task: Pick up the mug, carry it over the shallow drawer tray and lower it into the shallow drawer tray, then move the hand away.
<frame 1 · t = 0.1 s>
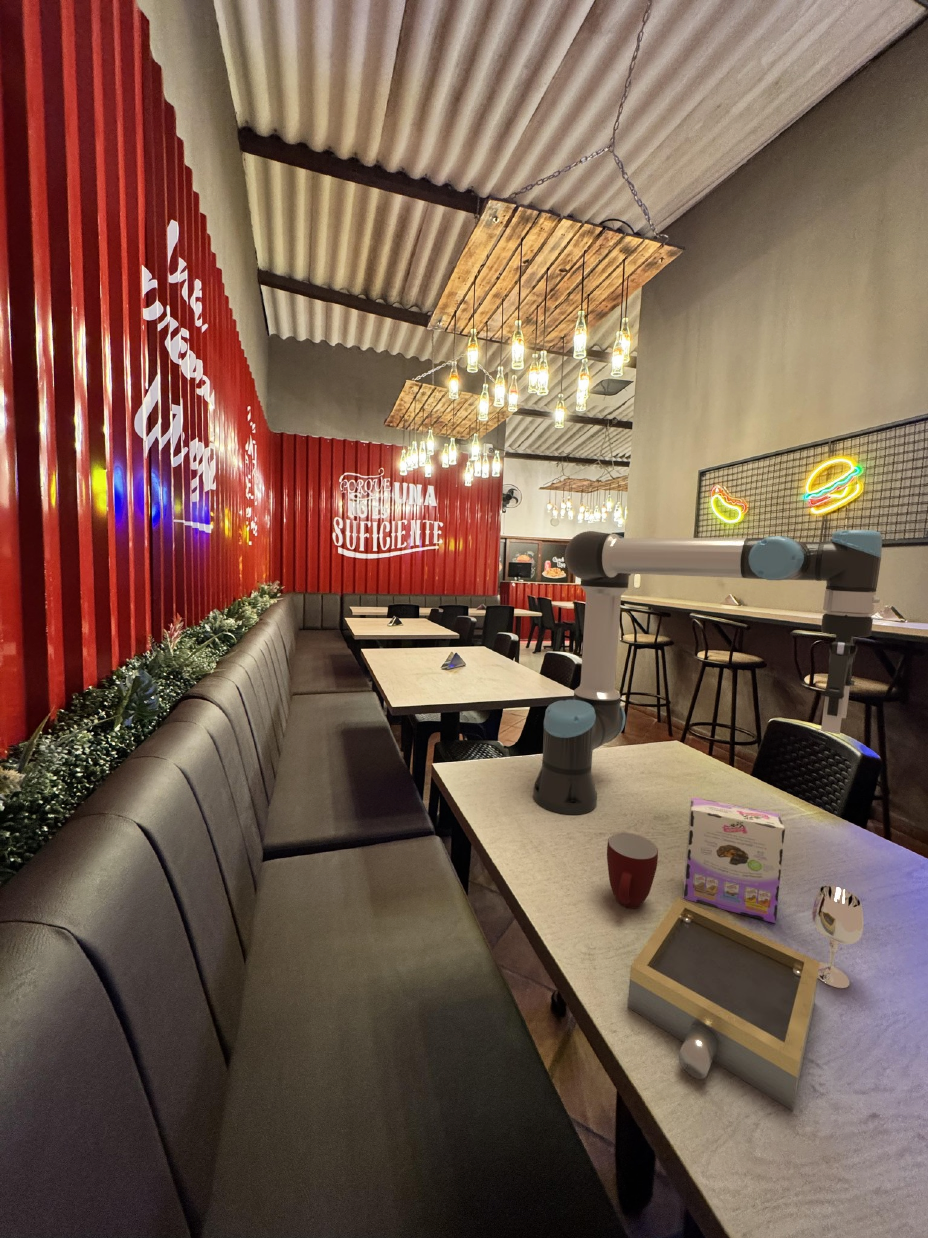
hand: (834, 724, 95), 28 cm above the table, fingers open, 13 cm apart
wineglass: (829, 976, 70), on the table
shallow drawer tray: (722, 1004, 65), on the table
mug: (627, 906, 83), on the table
candy box: (726, 902, 85), on the table
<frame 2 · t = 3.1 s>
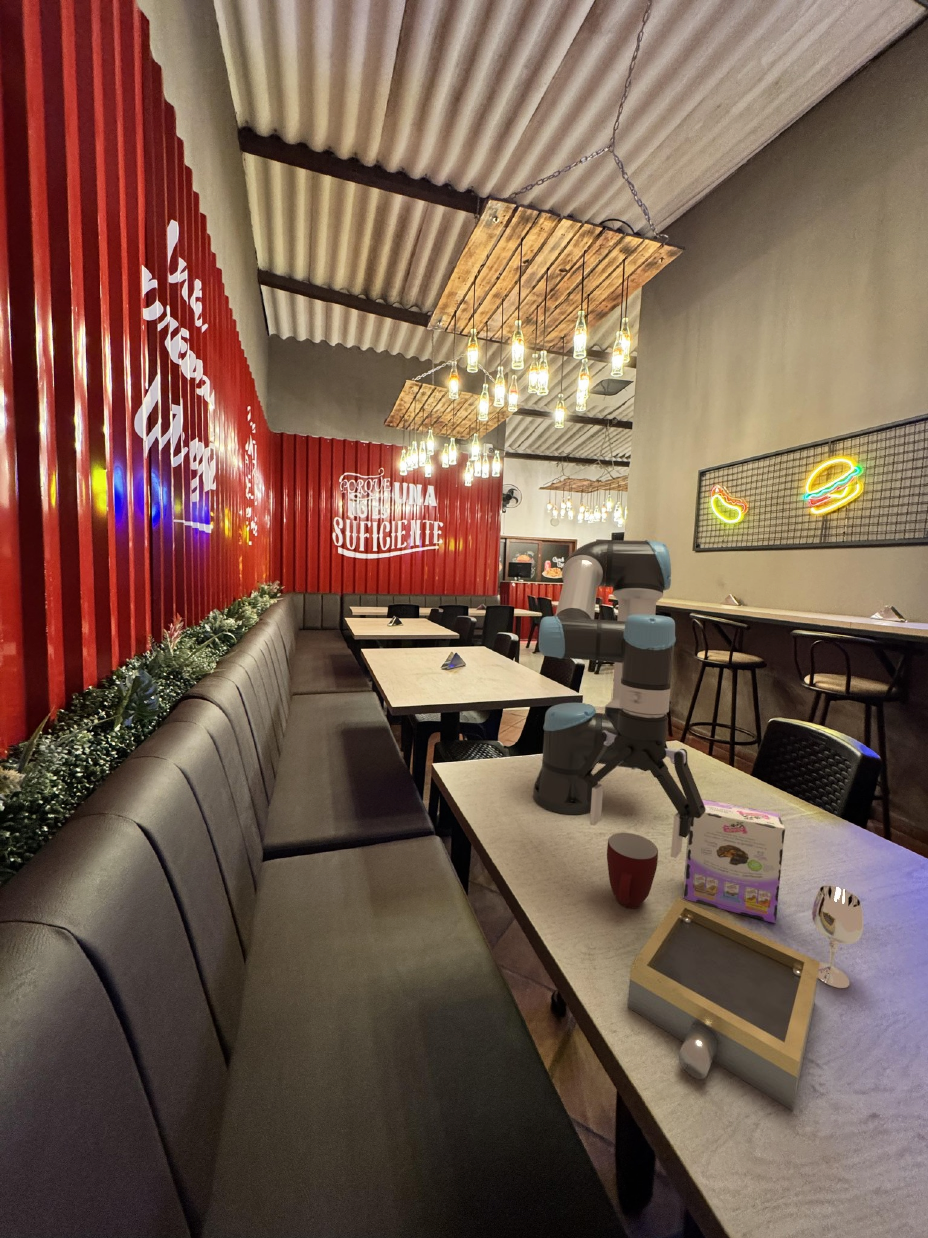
hand: (633, 837, 82), 12 cm above the table, fingers open, 13 cm apart
nothing on the table moved.
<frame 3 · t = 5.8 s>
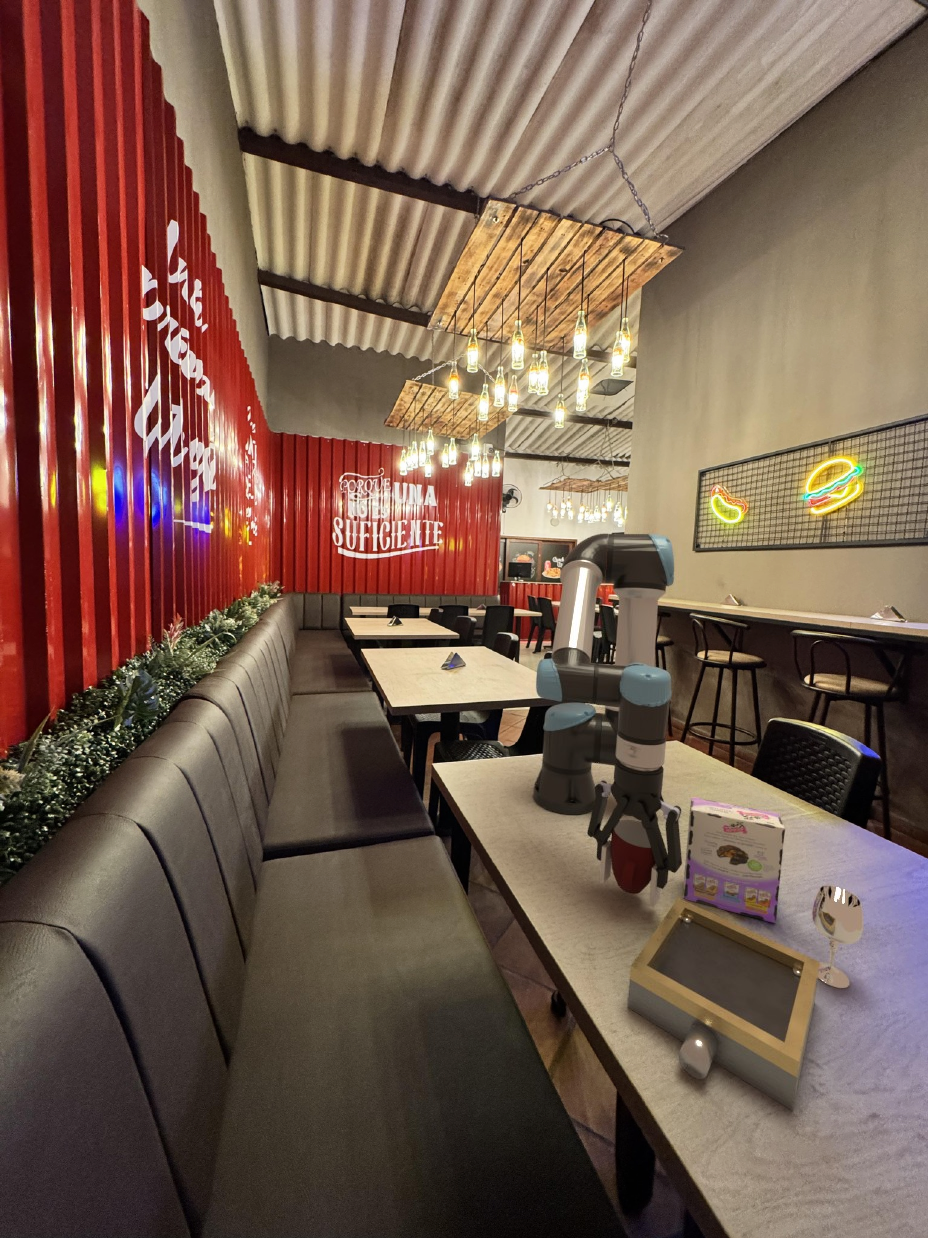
hand: (628, 890, 84), 2 cm above the table, fingers closed on mug, 8 cm apart
mug: (628, 891, 84), point 2 cm above the table, touching gripper
everything else where it was.
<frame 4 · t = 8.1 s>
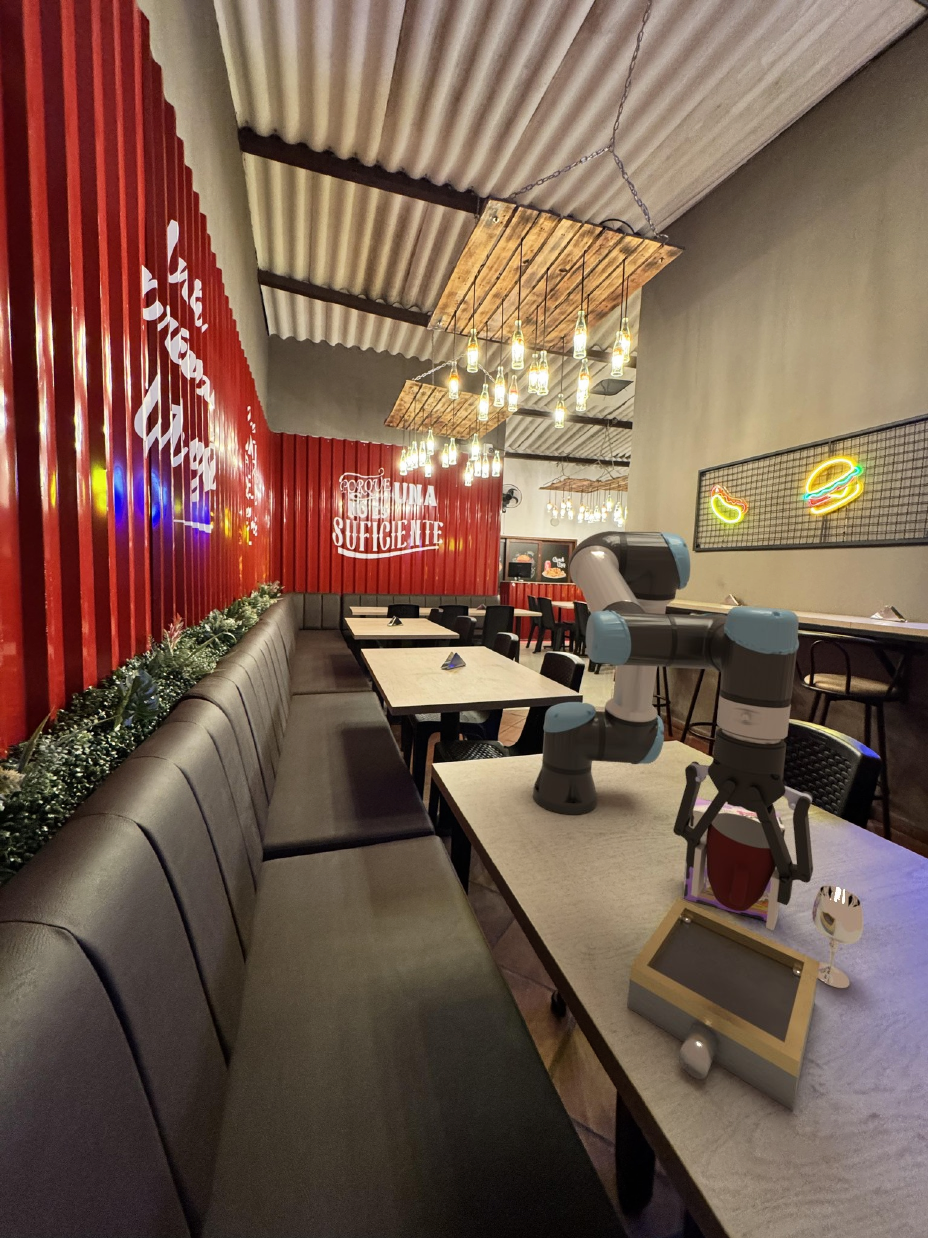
hand: (732, 906, 63), 14 cm above the table, fingers closed on mug, 8 cm apart
mug: (732, 908, 63), point 14 cm above the table, touching gripper
everything else where it was.
when the fingers open (6 cm above the table, at t = 10.3 s): mug drops 1 cm, resting on shallow drawer tray.
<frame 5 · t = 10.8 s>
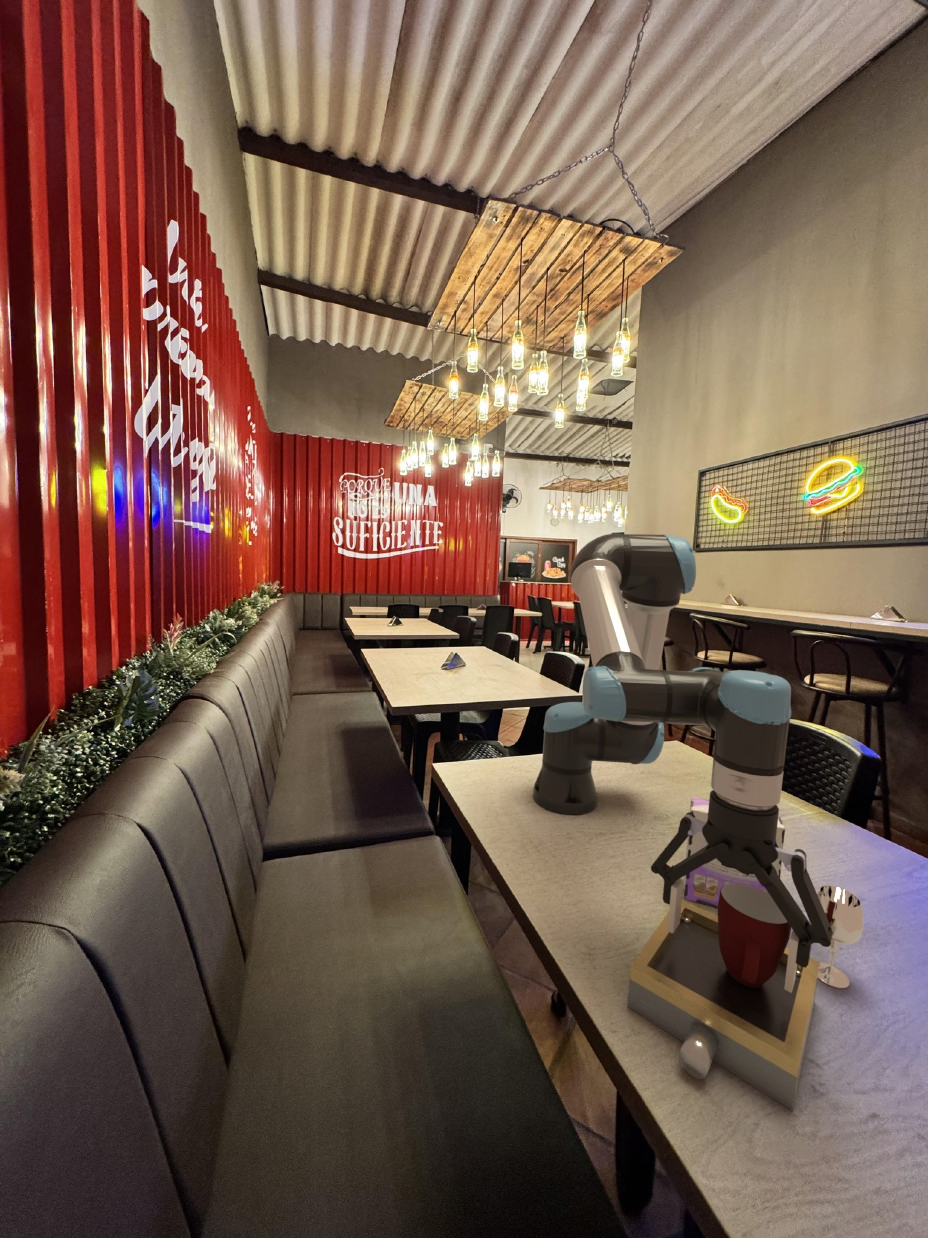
hand: (727, 954, 64), 7 cm above the table, fingers open, 13 cm apart
mug: (745, 984, 63), point 4 cm above the table, touching shallow drawer tray
everything else where it was.
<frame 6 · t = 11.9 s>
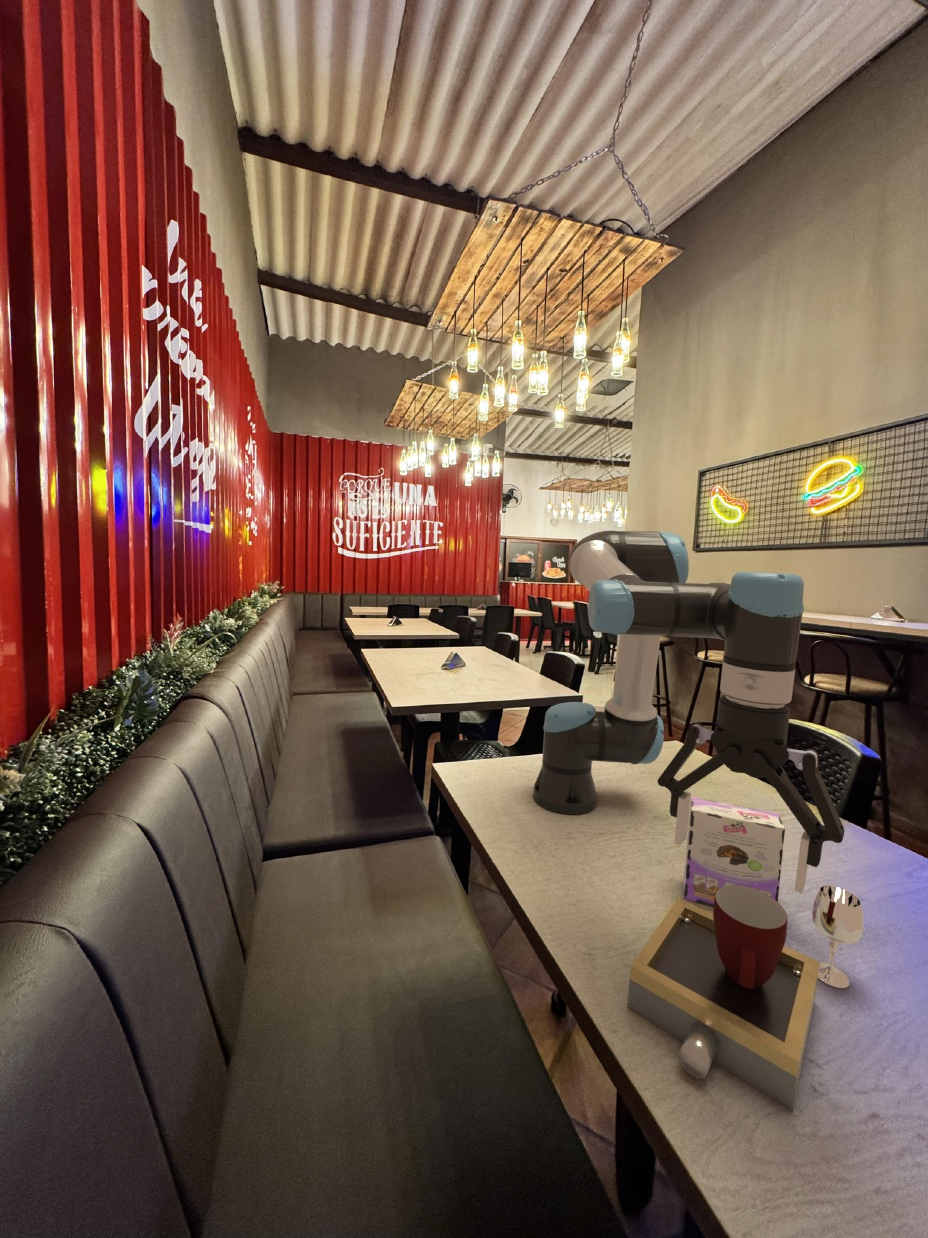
hand: (736, 862, 63), 20 cm above the table, fingers open, 13 cm apart
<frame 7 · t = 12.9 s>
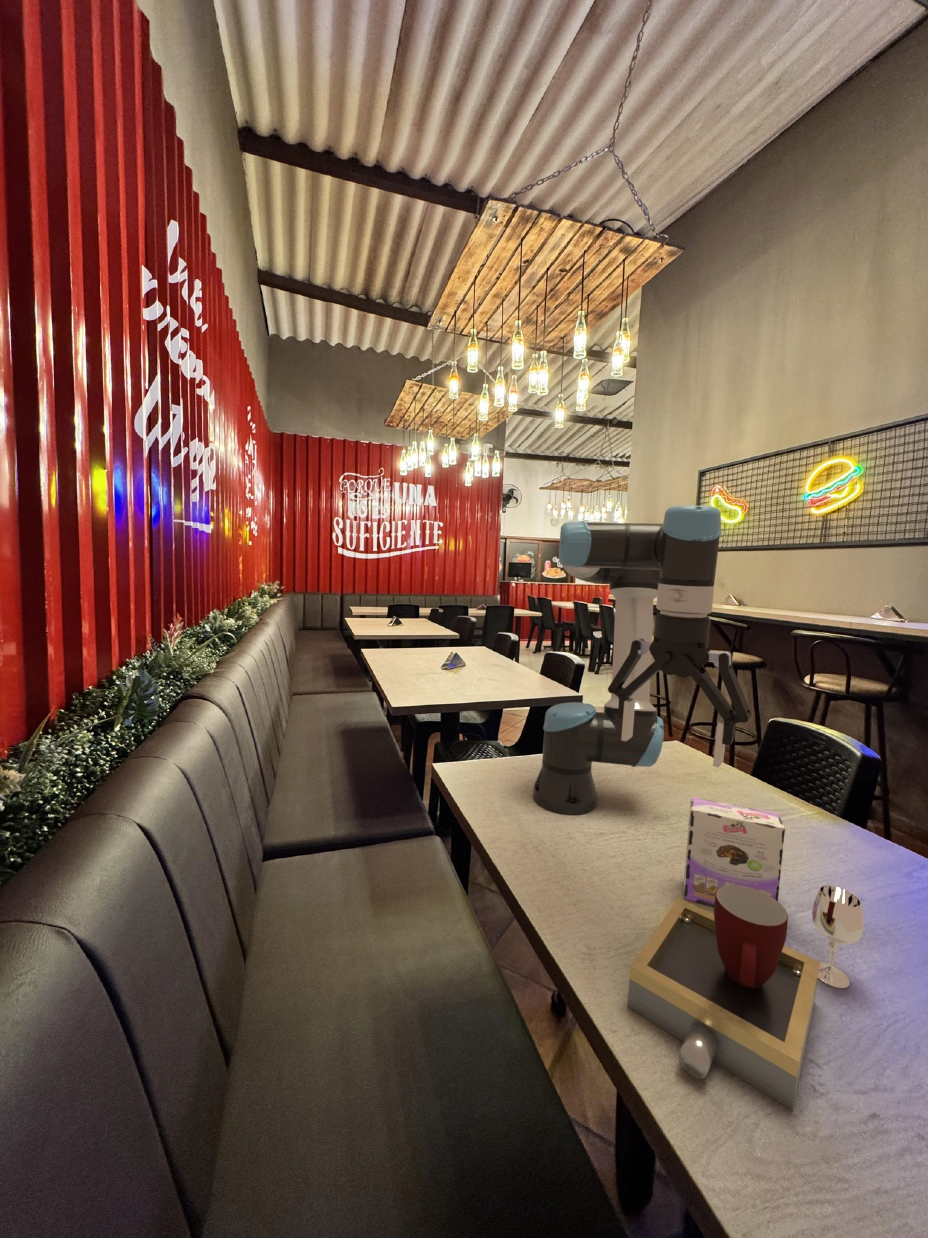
hand: (669, 750, 76), 29 cm above the table, fingers open, 13 cm apart
nothing on the table moved.
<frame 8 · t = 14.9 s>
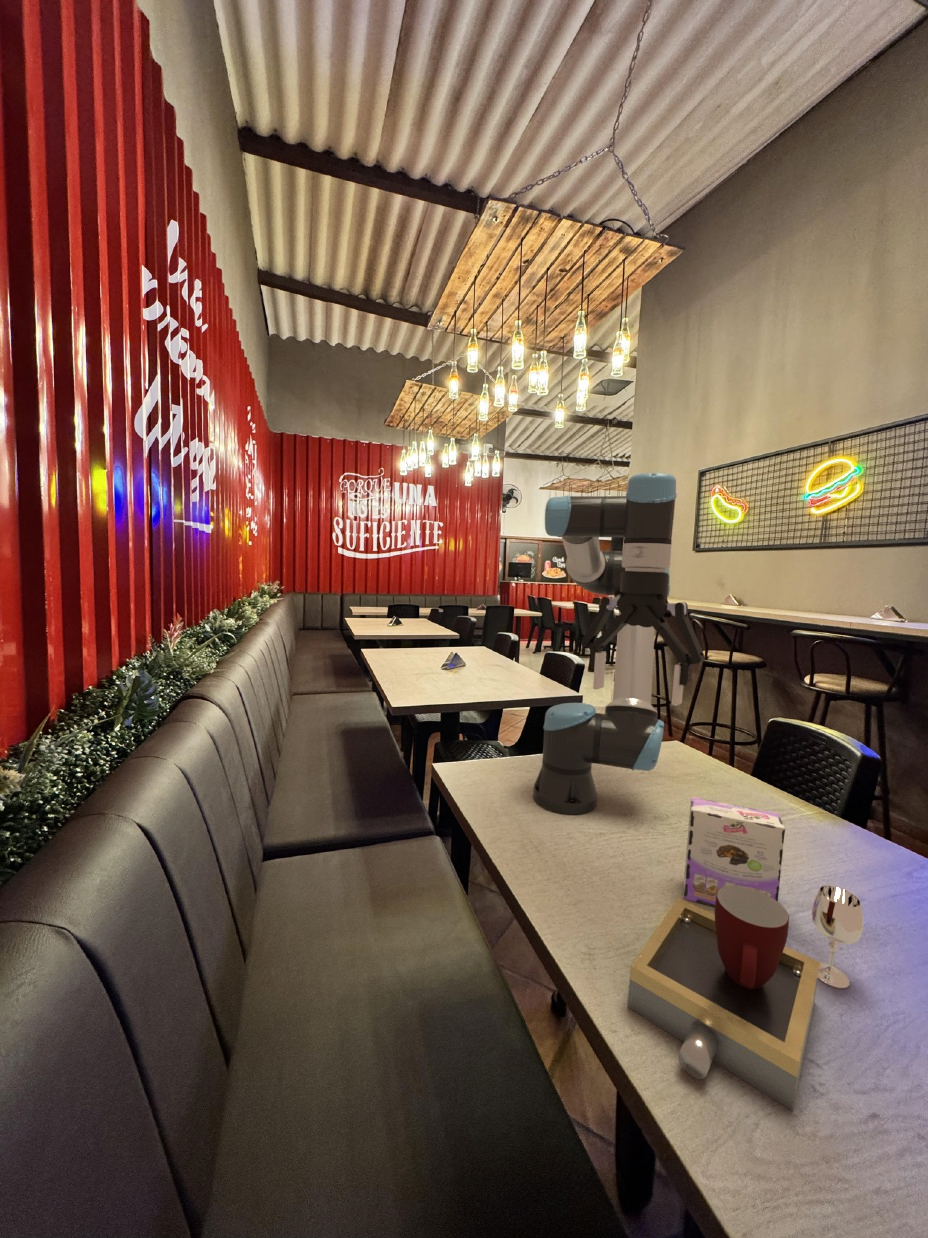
hand: (635, 695, 85), 35 cm above the table, fingers open, 13 cm apart
nothing on the table moved.
at the end: mug inside the target area on the shallow drawer tray (2.3 cm from its centre), point 4.0 cm above the shallow drawer tray's base; mug tilted 0°; the gripper is holding nothing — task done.
